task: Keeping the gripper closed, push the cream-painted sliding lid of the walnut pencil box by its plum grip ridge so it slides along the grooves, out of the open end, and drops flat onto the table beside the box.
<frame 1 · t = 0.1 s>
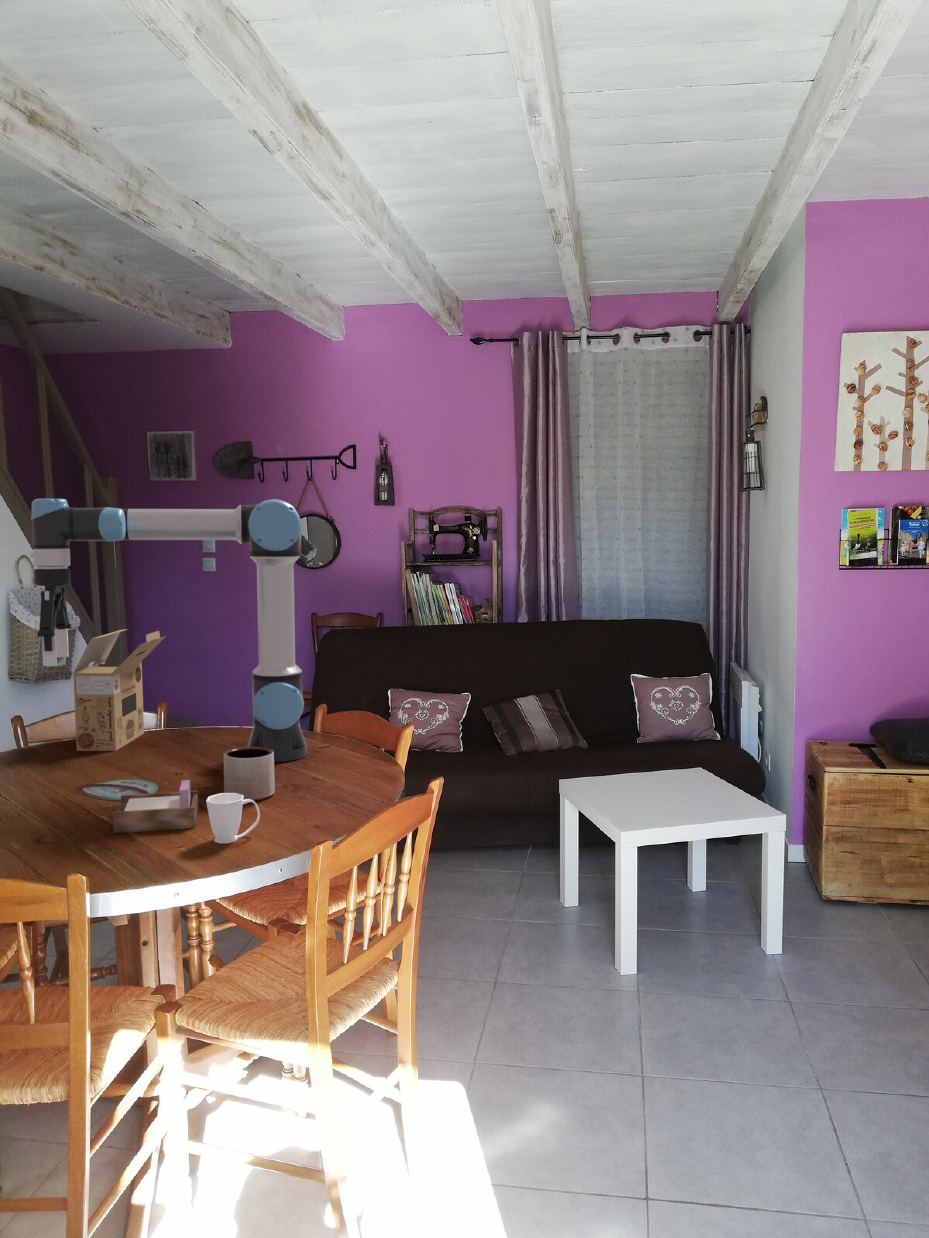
hand: (56, 661, 209), 28 cm above the table, fingers open, 13 cm apart
box: (121, 742, 251), on the table
pencil case: (157, 820, 184), on the table
lid: (158, 807, 183), point 3 cm above the table, touching pencil case
cup: (234, 839, 173), on the table
planter: (249, 796, 201), on the table
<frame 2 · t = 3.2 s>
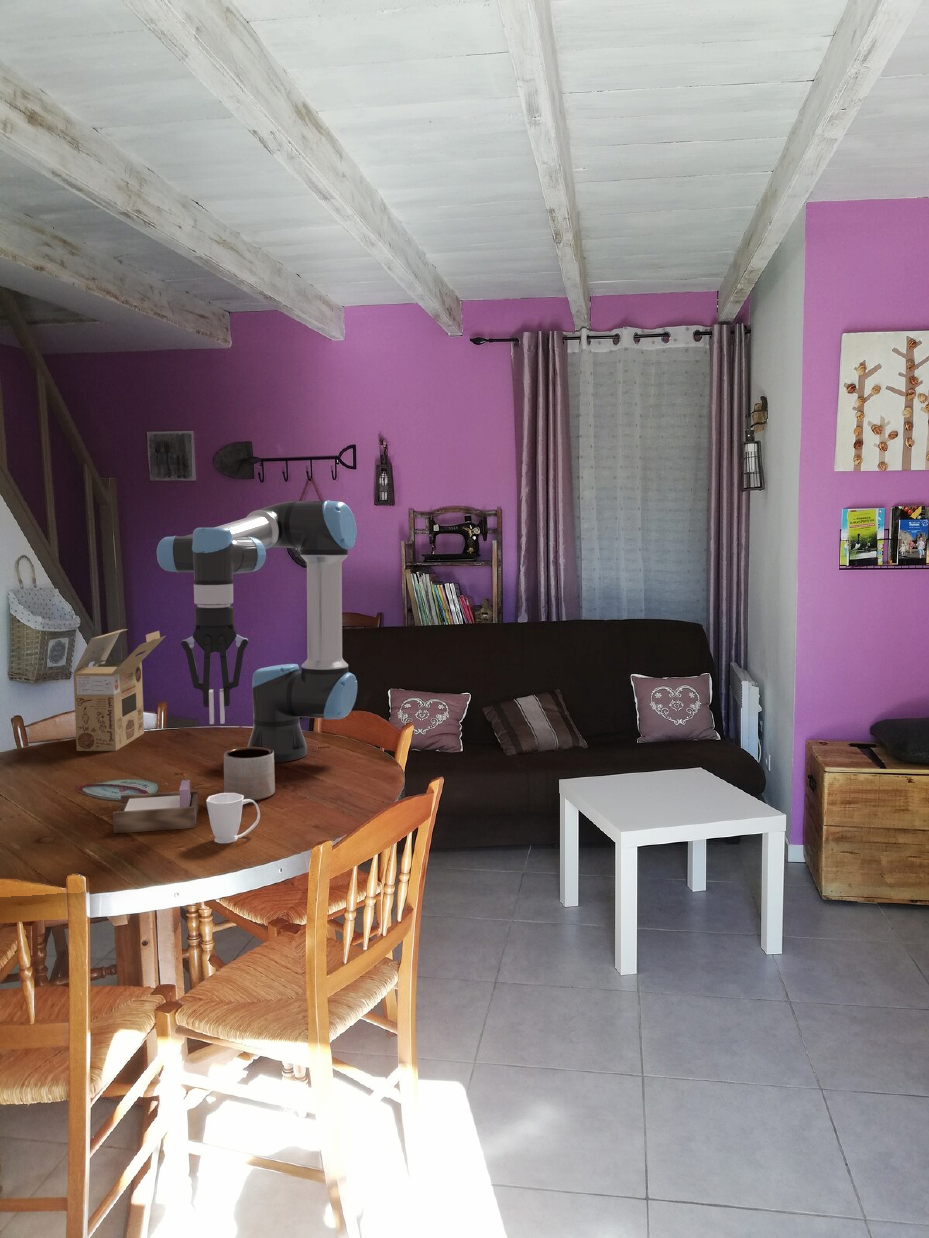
hand: (217, 722, 184), 19 cm above the table, fingers closed
nothing on the table moved.
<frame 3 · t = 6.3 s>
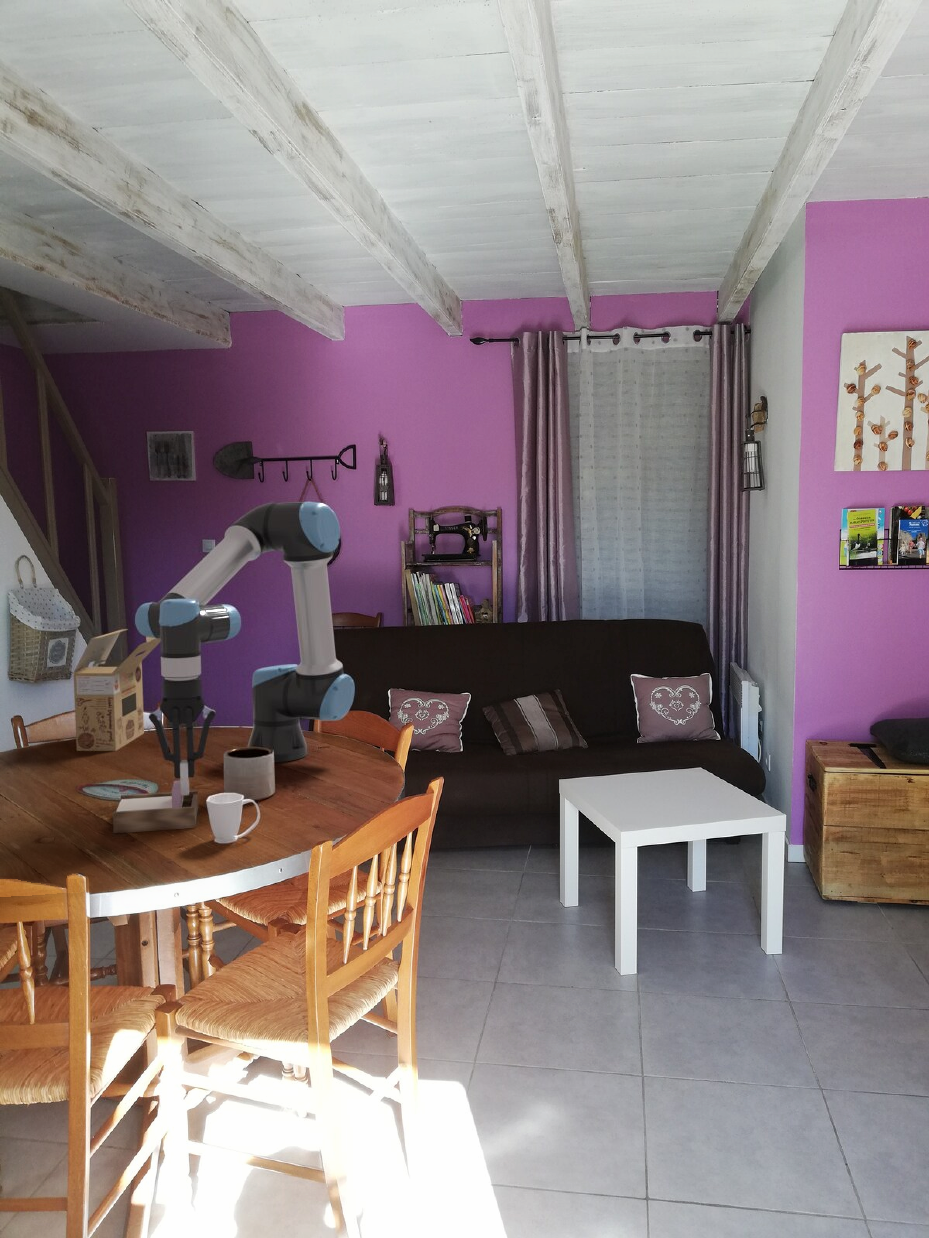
hand: (185, 793, 184), 5 cm above the table, fingers closed
lid: (150, 808, 183), point 3 cm above the table, touching gripper, pencil case
everything else where it was.
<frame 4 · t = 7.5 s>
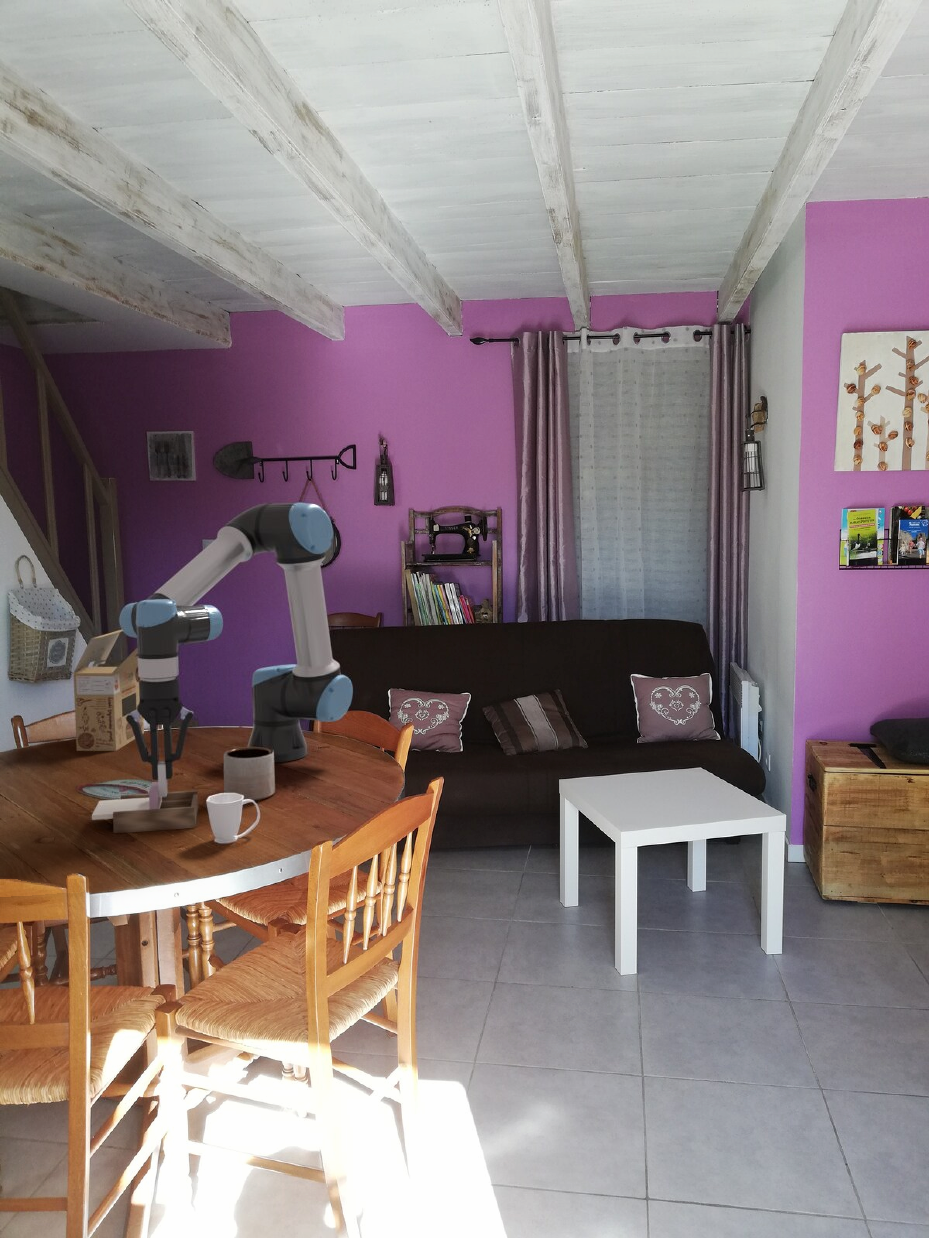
hand: (163, 794, 183), 5 cm above the table, fingers closed
lid: (128, 810, 182), point 3 cm above the table, touching gripper, pencil case
everything else where it was.
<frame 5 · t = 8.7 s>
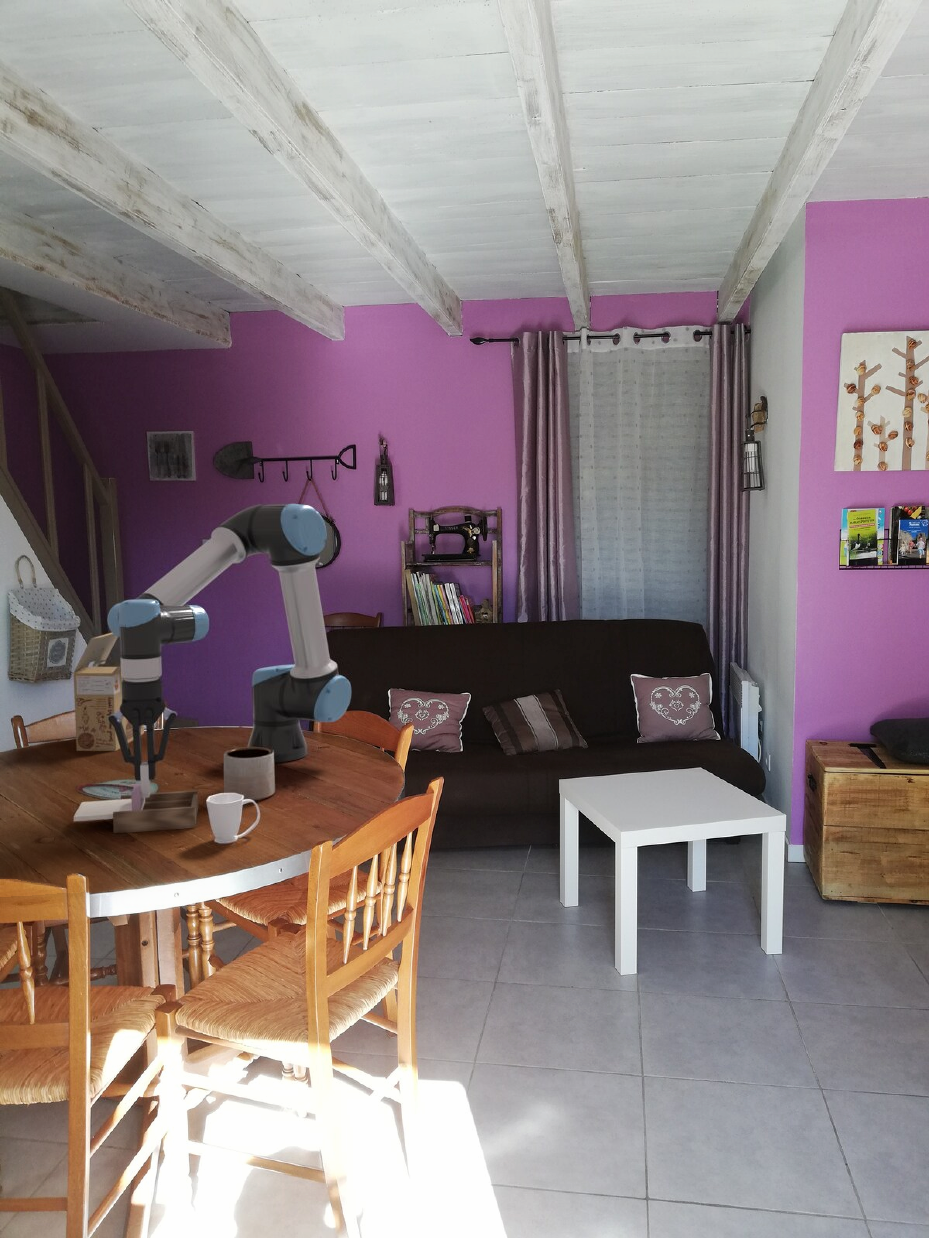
hand: (145, 795, 182), 5 cm above the table, fingers closed
lid: (110, 811, 181), point 3 cm above the table, touching gripper, pencil case
everything else where it was.
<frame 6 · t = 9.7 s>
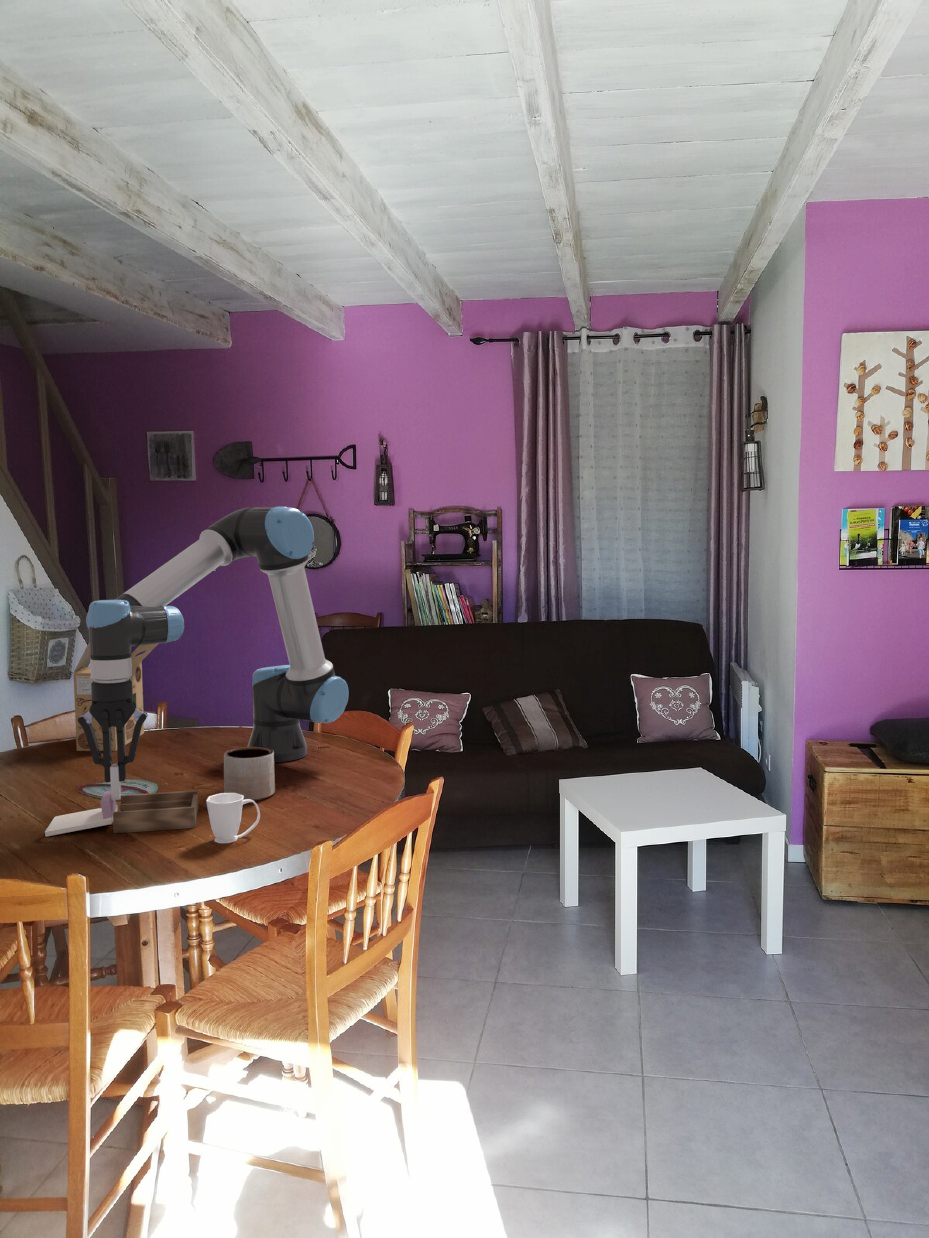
hand: (116, 797, 181), 5 cm above the table, fingers closed
lid: (83, 822, 180), point 1 cm above the table, tilted 8°
everything else where it was.
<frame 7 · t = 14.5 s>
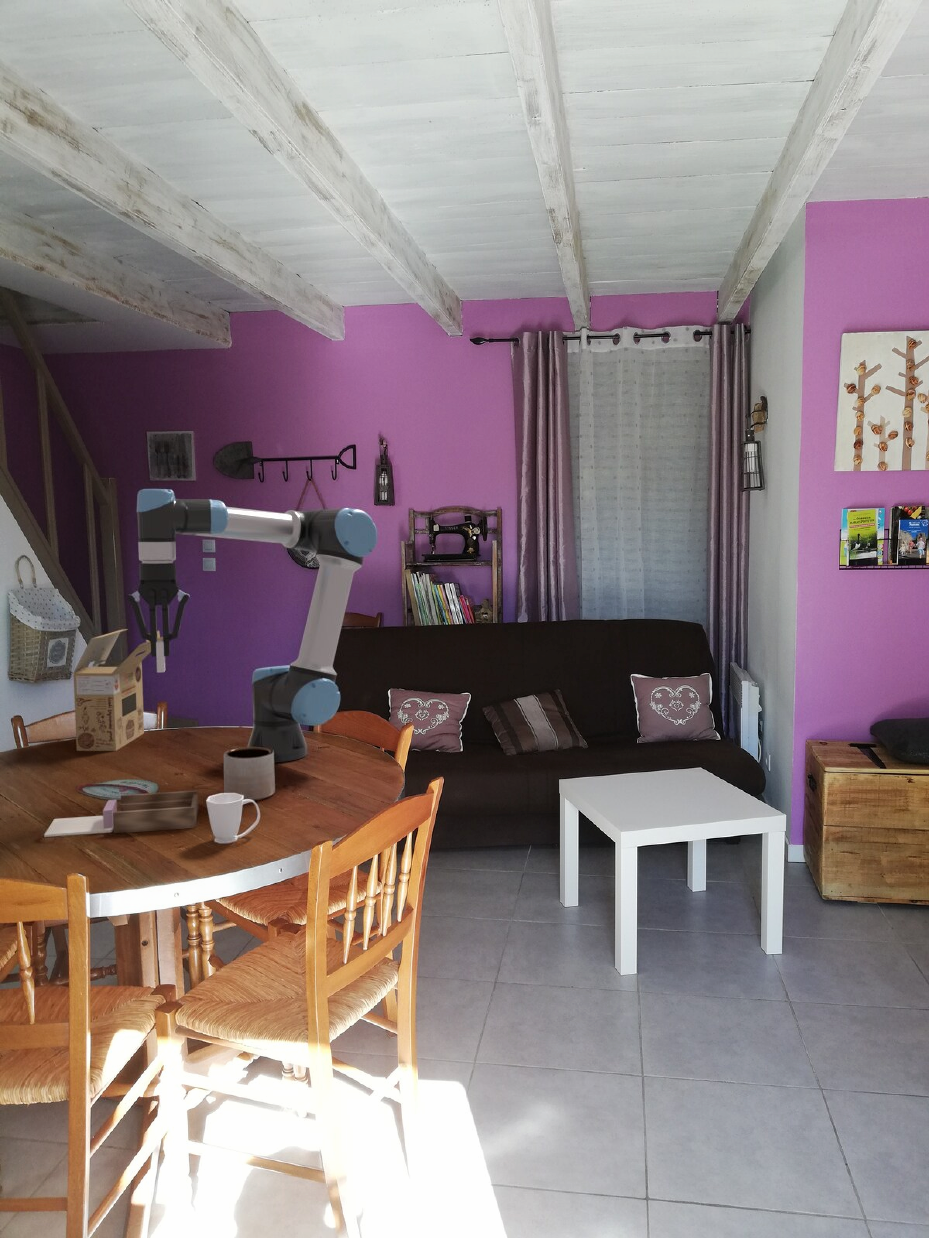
hand: (161, 671, 198), 27 cm above the table, fingers closed
lid: (82, 828, 180), on the table
everything else where it was.
at the end: lid inside the target area on the table beside the pencil case (2.0 cm from its centre), on the table; lid tilted 0°; the gripper is holding nothing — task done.
